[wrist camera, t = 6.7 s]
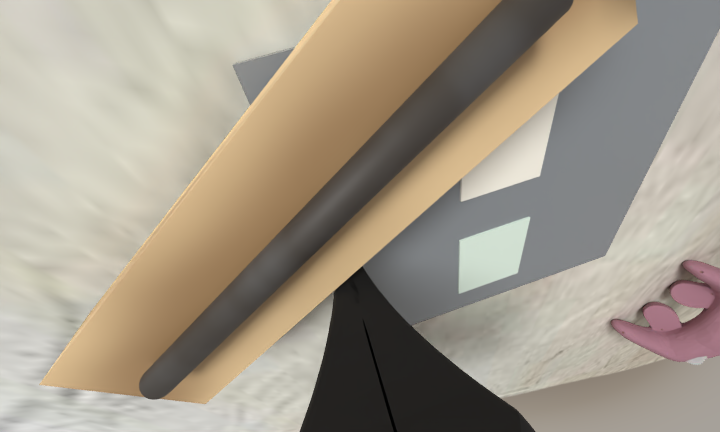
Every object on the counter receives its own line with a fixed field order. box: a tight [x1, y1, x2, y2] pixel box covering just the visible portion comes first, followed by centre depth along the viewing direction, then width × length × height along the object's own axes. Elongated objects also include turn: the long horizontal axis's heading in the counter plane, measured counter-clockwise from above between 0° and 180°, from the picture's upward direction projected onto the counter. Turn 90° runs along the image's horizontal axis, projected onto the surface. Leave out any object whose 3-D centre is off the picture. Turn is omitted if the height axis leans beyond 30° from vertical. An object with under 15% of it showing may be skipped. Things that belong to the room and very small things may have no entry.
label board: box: [233, 0, 720, 325], centre depth 13 cm, size 18×16×1 cm
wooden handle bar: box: [39, 0, 638, 404], centre depth 8 cm, size 5×20×5 cm, turn 134°
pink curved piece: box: [611, 260, 720, 365], centre depth 24 cm, size 10×5×7 cm, turn 160°
